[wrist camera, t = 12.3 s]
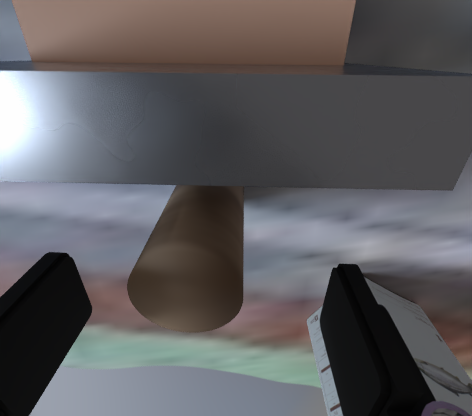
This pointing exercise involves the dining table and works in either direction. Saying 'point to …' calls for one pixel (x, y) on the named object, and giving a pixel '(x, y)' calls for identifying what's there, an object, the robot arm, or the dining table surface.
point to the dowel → (193, 261)
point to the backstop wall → (234, 125)
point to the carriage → (187, 31)
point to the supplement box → (419, 344)
